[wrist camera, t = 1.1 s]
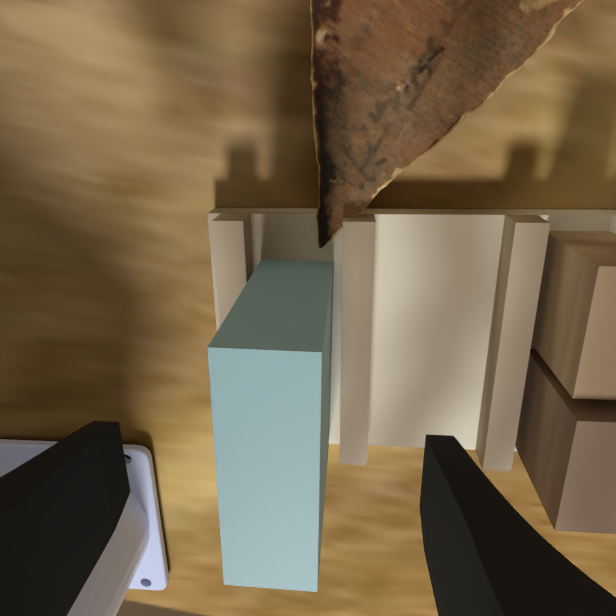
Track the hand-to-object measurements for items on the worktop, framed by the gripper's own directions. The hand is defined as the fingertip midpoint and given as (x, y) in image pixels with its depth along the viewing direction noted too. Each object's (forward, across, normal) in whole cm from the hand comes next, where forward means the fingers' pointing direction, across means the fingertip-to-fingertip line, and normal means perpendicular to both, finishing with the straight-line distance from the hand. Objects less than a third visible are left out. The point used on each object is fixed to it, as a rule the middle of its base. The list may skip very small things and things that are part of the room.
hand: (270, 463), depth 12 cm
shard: (+8, -4, -10) cm, 13 cm away
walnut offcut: (+7, -9, +2) cm, 12 cm away
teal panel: (+7, 0, +1) cm, 7 cm away
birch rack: (+8, -4, 0) cm, 9 cm away
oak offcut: (+7, -9, -2) cm, 12 cm away
